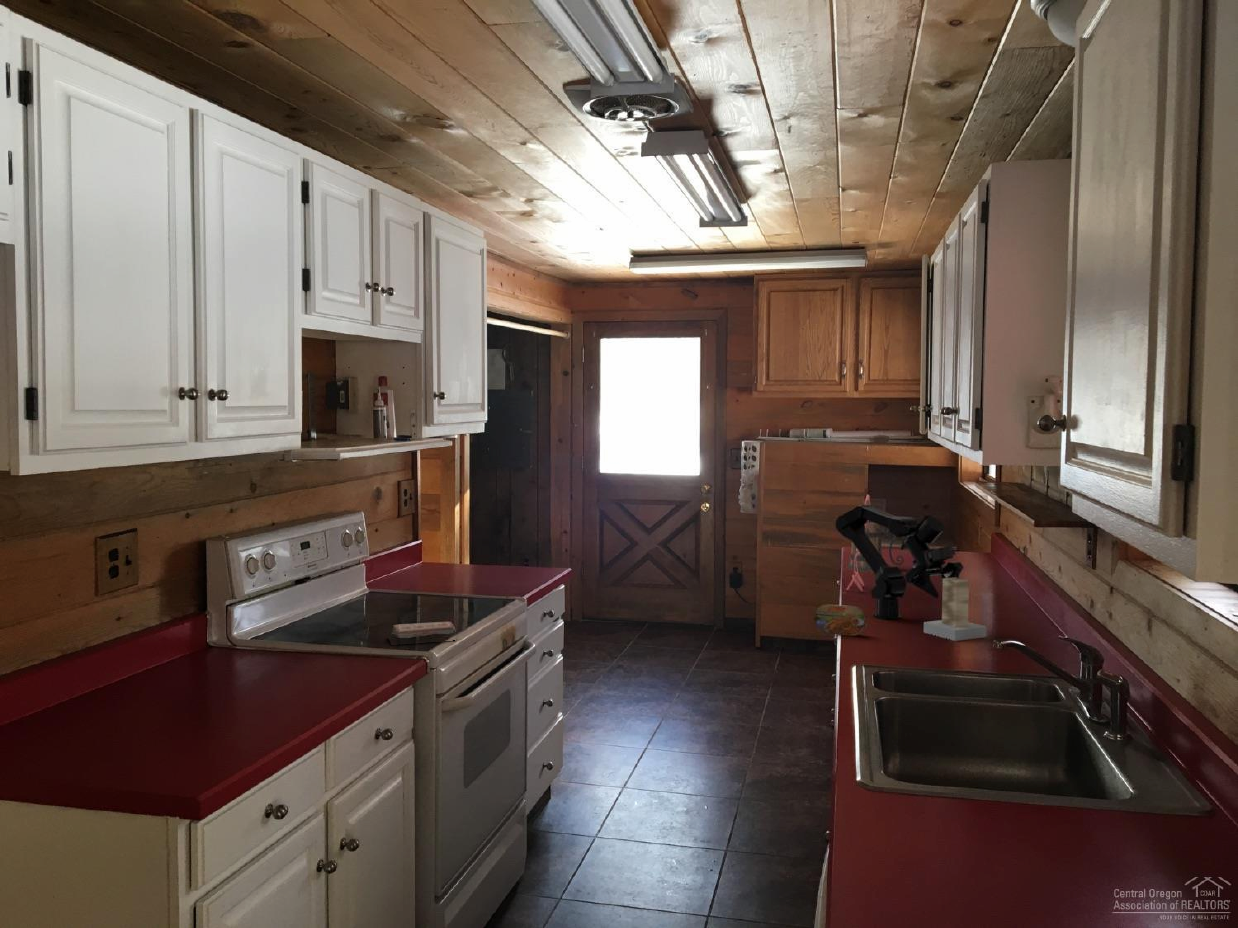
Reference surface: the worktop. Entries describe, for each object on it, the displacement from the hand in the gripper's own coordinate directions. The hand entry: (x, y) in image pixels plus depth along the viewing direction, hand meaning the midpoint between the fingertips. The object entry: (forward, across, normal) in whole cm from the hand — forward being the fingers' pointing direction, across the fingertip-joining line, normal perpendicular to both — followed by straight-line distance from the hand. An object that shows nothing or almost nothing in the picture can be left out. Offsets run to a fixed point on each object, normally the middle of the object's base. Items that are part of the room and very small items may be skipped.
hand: (949, 596), depth 273 cm
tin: (-2, -28, +18) cm, 34 cm away
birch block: (+7, 0, +4) cm, 8 cm away
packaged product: (-34, -138, +52) cm, 151 cm away
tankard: (-62, +64, +79) cm, 119 cm away
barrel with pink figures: (-37, +28, +54) cm, 71 cm away
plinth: (+9, 0, +6) cm, 11 cm away
